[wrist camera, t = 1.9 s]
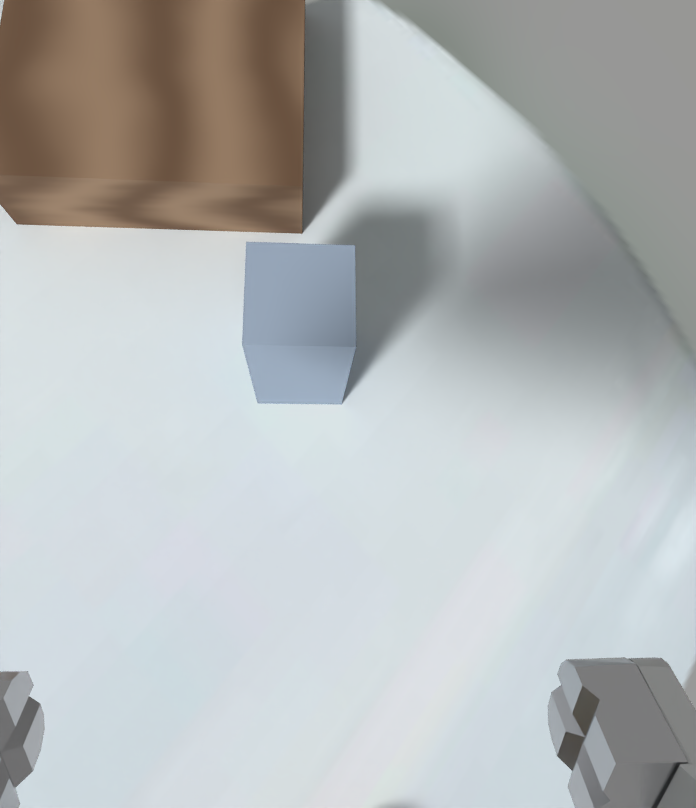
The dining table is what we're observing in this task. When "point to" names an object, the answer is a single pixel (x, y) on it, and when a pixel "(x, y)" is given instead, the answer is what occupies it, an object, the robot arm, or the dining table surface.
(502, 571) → the dining table surface
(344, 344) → the slate pillar
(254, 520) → the dining table surface
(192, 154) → the walnut block
